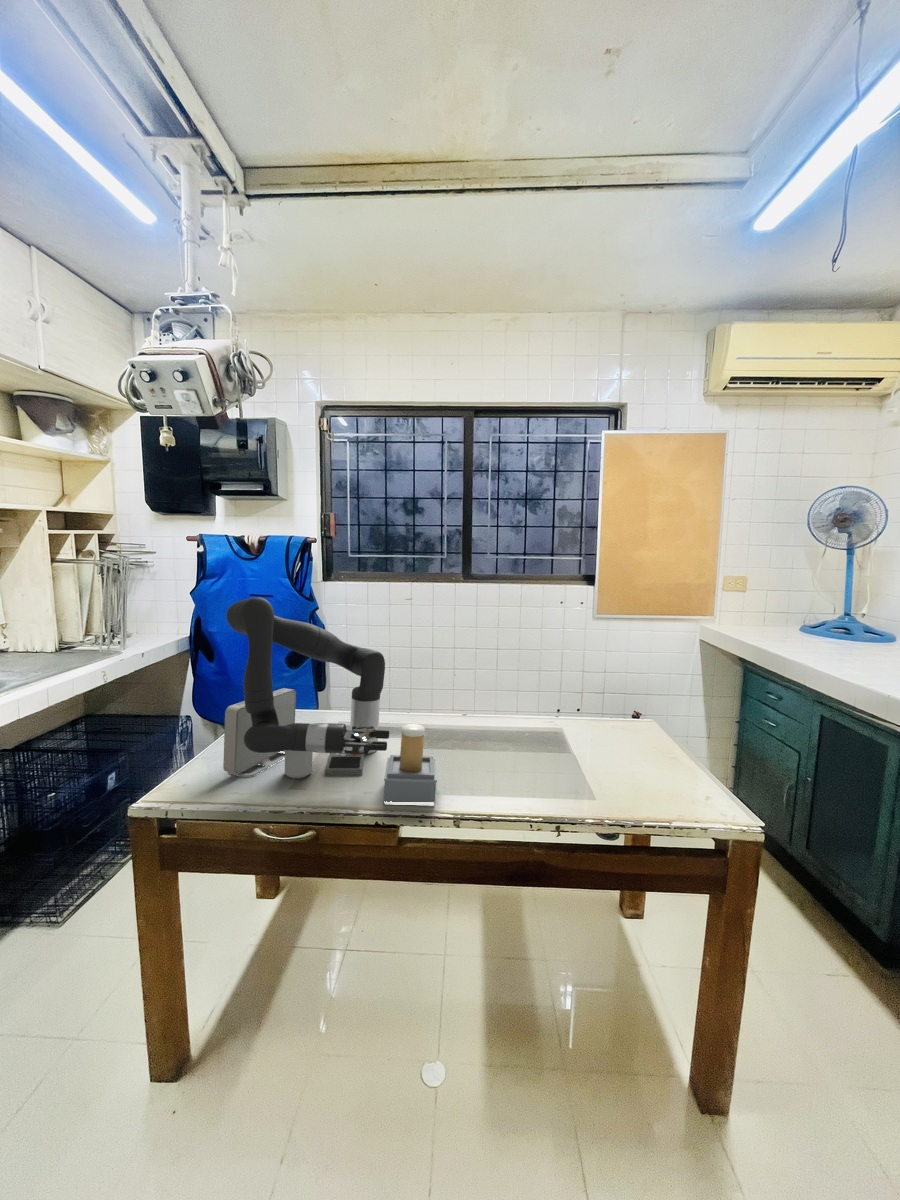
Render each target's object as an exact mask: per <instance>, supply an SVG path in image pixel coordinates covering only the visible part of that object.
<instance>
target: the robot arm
mask: <svg viewBox="0 0 900 1200" xmlns="http://www.w3.org/2000/svg"><path fill="white" fill-rule="evenodd" d="M226 620H227V621H226V622H227V623H228V625H229V627H230V628H232V630H233V631H235V632H237V633H239V634H241V635H242V634H243V635H245V636H247V641H248V655H247V663H246V666H245V671H244V675H243V698H244V700H243V701H245V708H246V711H247V712H248V713H250V714H251V719H252V727H250V728H249V729H248V730H247V732H246V733H245V735H244V743H245V746H246V747H247V748H248V749H249V750H251V751H253V752H257V753H269V752H279V751H287V750H292V751H309V752H313V753H317V754H330V753H343V751H344V750H345V753H350V754H364V755H368V754H372V753H375V752H377V751H383V752H385V751H387V750H388V749H387V748H388V742H387V740H388V739H389V738H390V730H388V729H379V726H380V725H379V724H380V708H381V707H380V705H381V704H380V703H381V693H382V691H383V689H384V681H385V672H386V661H385V660H386V659H385V657H384V654H382V652H380V651H377V650H374V649H370V648H366V647H361V646H356V645H353V644H351V643H350V644H349V643H347V642H344V641H343V640H342V639H340V638H338V637H337V636H336V635H335V634H334V633H332V632H330V631H329V630H327V629H324V628H322V627H320V626H317V625H315V624H313V623H308V622H304V621H300V620H294V619H288V618H283V617H281V616H277V615H275V610H274V608H273V606H272V604H271V603H270V602H269V601H268V600H267V599H265V598H263V597H258V596H256V597H249V598H246V599H242V600H238V601H236V602H234V603H232V604H231V605H230V606H229V607H228V609H227V611H226ZM273 643H274V644H276V645H279V646H281V647H283V648H285V649H287V650H290V651H293V652H295V653H298V654H300V655H303V656H304V657H307V658H311V659H314V660H316V661H320V662H325V663H330V664H335V665H337V666H339V667H342V668H343V669H345V670H348V671H349V672H350V673H353V674H354V675H356V676H358V677H360V682H359V686H355V687H353V688H352V691H351V704H350V706H351V707H350V726H349V730H347V725H346V724H345V723H335V722H333V723H332V722H331V723H330V722H313V723H304V722H299V723H298V722H295V723H292V724H289V725H285V726H279V722H278V717H277V714H276V710H275V707H274V698H273V691H274V688H273V675H272V674H273V673H272V657H273V656H272V655H273ZM379 739H382V741H381V740H379ZM386 739H387V740H386ZM383 740H384V741H383ZM385 740H386V741H385ZM363 750H364V751H363Z"/></svg>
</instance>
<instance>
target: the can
mask: <svg viewBox="0 0 900 1200" xmlns="http://www.w3.org/2000/svg"><path fill="white" fill-rule="evenodd" d="M313 755H314V752H309V751H292V750H287V751H285V755H284V756H285V760H284V769H283V770H284V772H283V773H284V774H285V775H286V776H287V777H288V776H289V777H288V778H290V777H291V778H290V779H295V778H297V779H302V778H306V777H308V776H309V775H310V774H311V772H312V770H313Z"/></svg>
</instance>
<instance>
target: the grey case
mask: <svg viewBox="0 0 900 1200" xmlns="http://www.w3.org/2000/svg"><path fill="white" fill-rule="evenodd" d="M386 760H387V761H386V766H385V772H384V778H383V781H384V789H383V793H384V794H383V802H384V801H385V802H386V801H387V802H390V801H392V802H434V801H435V802H436V791H437V790H436V789H437V783H438V776H437V764H436V763H437V762H436V758H434V756H430V755H428V756H427V755H425V756H424V755H423V760H422V770H421V771H419V772H416V773H407V772H403V771H401V770H400V755H399V754H398V755H397V754H396V755H395V754H390V755H389V757H387V759H386Z"/></svg>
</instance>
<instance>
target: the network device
mask: <svg viewBox="0 0 900 1200" xmlns="http://www.w3.org/2000/svg"><path fill="white" fill-rule="evenodd" d="M273 698H274V707H275V710H276V714H277V717H278V722H279V726H285V725H289V724H292V723H296V703H297V691H296V690H295V689H292V688H286V687H285V688H284V687H283V688H279V689H277V690H273ZM250 727H252V719H251V714H250V713H248V712H247V711H246V708H245V700H243V701H240V702H237V703H235V704H231V705H228V706H227V708H226V709H225V711H224V734H223V735H224V736H223V737H224V738H223V771H224V772H227V773H229V774H230V773H231V774H233V775H232V776H235V775H238V776H237V777H239V776H243V777H242V778H250V777H249V776H253V777H255V776H254V775H256V774H258V773H260V772H261V771H263V770H265V769H267V768H268V767H270V766H271V765H273V764H275V763H277V762H278V761H280V760H282V759H283V756H281V757H280V758H277V759H276V760H270V758H271V757H273V756H275V755H276V754H278V752H269V753H257V752H253V751H251V750H249V749H248V748H247V747H246V746H245V743H244V735H245V733H246V732H247V730H248V729H249V728H250ZM279 752H280V751H279ZM284 758H285V757H284ZM256 764H260V765H264V766H265V767H263V766H262V767H261V768H260V769H257V770H256V771H253V772H251V773H246V772H243V771H246V770H248V769H250V768H251V767H254V766H257V765H256ZM270 768H271V767H270ZM267 770H268V769H267ZM265 771H266V770H265ZM263 772H264V771H263ZM261 773H262V772H261ZM261 773H260V774H261ZM231 774H230V775H231ZM258 775H259V774H258ZM256 776H257V775H256Z"/></svg>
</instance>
